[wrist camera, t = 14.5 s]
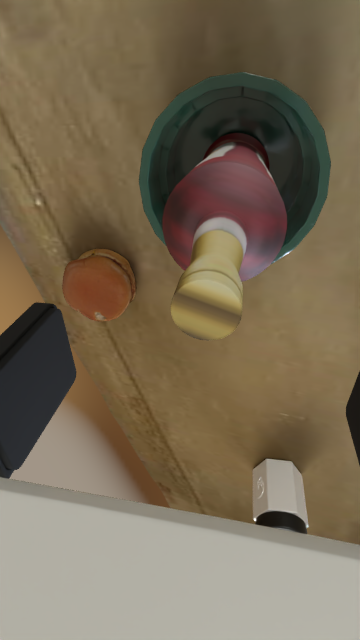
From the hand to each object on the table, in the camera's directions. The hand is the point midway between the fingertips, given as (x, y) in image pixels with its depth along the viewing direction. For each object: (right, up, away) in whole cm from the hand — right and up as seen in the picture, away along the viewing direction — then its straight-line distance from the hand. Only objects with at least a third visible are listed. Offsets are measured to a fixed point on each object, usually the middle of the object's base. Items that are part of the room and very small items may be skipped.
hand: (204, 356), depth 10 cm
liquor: (+5, +17, +25) cm, 31 cm away
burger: (-11, +7, +36) cm, 39 cm away
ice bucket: (+5, +17, +26) cm, 31 cm away
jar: (+18, -28, +54) cm, 63 cm away
